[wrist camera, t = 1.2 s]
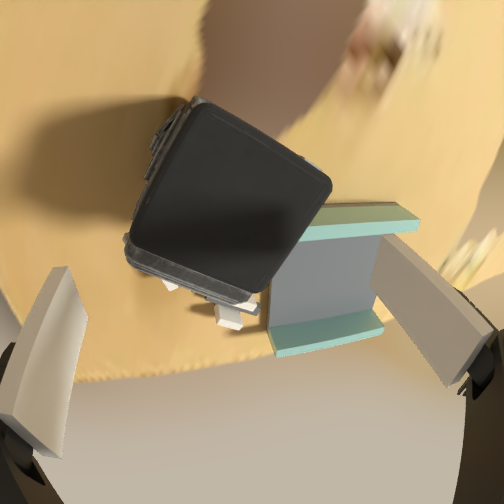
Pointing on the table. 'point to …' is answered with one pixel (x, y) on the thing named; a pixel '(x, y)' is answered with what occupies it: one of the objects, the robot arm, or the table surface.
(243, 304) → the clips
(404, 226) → the dock
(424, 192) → the table surface
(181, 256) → the camera
